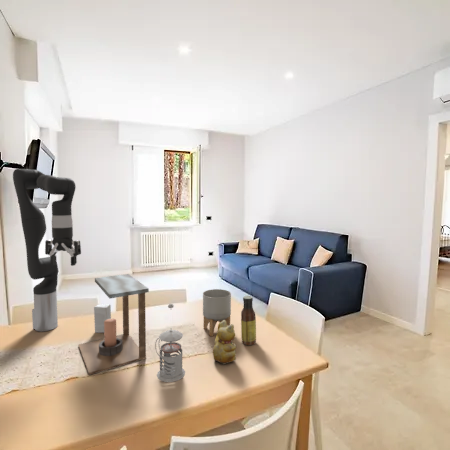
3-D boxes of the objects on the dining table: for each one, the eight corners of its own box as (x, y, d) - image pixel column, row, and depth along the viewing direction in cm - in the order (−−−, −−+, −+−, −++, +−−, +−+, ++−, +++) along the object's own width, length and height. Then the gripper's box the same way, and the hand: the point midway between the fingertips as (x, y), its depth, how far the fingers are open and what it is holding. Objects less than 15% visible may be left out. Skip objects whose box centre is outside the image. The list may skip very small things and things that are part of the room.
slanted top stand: (89, 376, 102) (87, 298, 99) (78, 345, 123) (76, 280, 121) (149, 358, 113) (148, 288, 111) (129, 333, 135) (128, 274, 133)
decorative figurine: (240, 361, 112) (240, 323, 111) (224, 370, 106) (225, 329, 105) (222, 352, 119) (222, 315, 117) (206, 360, 113) (206, 321, 111)
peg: (102, 352, 116) (102, 322, 115) (108, 347, 120) (107, 318, 119) (113, 353, 115) (112, 323, 114) (118, 348, 120) (118, 319, 119)
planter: (197, 333, 135) (198, 295, 134) (209, 323, 147) (210, 287, 146) (224, 339, 130) (224, 299, 129) (234, 327, 142) (234, 291, 141)
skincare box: (111, 329, 139) (111, 304, 138) (107, 333, 135) (106, 307, 134) (99, 328, 139) (98, 303, 138) (94, 332, 135) (93, 306, 134)
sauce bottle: (257, 340, 129) (258, 295, 127) (254, 347, 123) (254, 300, 122) (242, 338, 131) (243, 294, 130) (238, 344, 125) (239, 298, 124)
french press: (172, 385, 97) (171, 311, 95) (147, 374, 103) (146, 304, 101) (191, 371, 105) (191, 302, 103) (166, 361, 111) (166, 296, 109)
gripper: (83, 225, 125) (84, 263, 126) (52, 225, 127) (53, 262, 128) (73, 227, 118) (74, 267, 119) (39, 226, 119) (41, 266, 121)
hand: (63, 265), depth 124 cm, fingers open, 8 cm apart
